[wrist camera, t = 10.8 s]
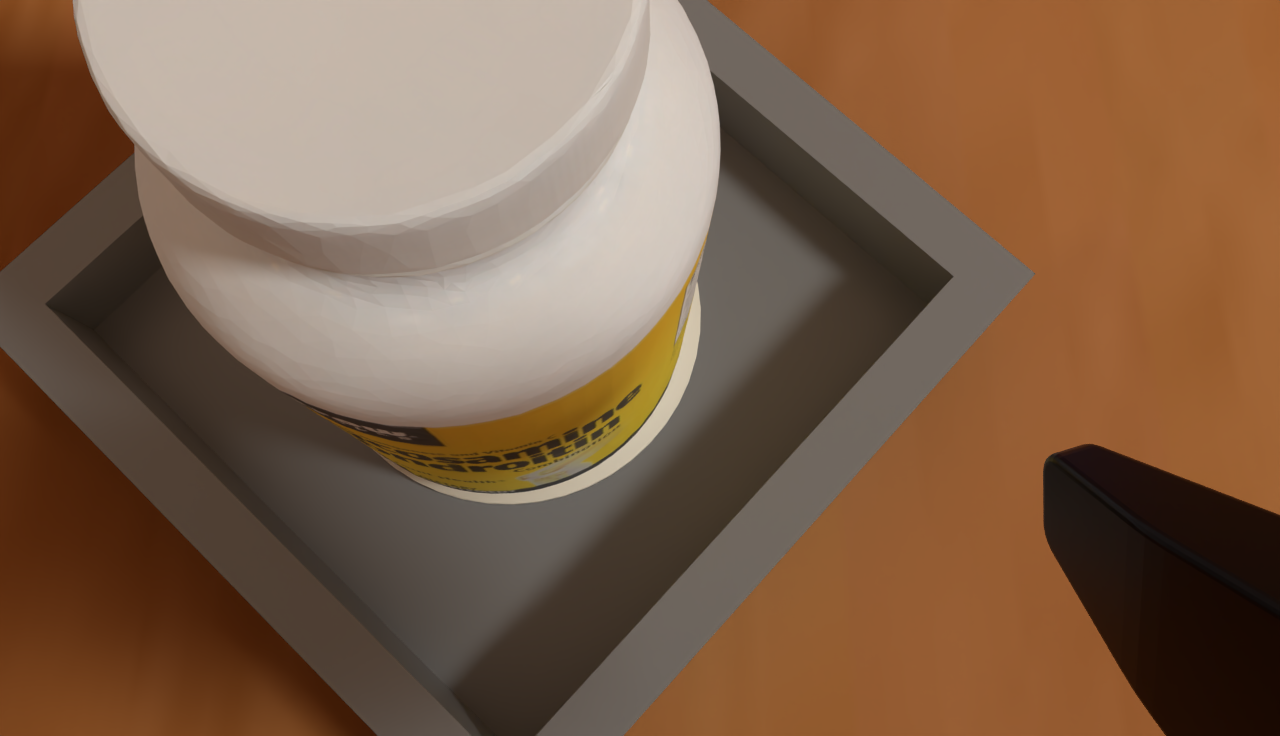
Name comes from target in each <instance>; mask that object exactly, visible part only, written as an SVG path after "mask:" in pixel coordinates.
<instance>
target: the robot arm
mask: <svg viewBox="0 0 1280 736" xmlns="http://www.w3.org/2000/svg"><path fill="white" fill-rule="evenodd" d="M1043 507H1044V530H1045V535H1046V538H1047V541H1048V544H1049V546H1050V549H1051V551H1052V552H1053V554H1054V556H1055V558H1056V559H1057V561H1058V563H1059V565H1060V566H1061V568H1062V570H1063V571H1064V573H1065V575H1066V577H1067V578H1068V580H1069V582H1070V583H1071V585H1072V587H1073V589H1074V590H1075V592H1076V594H1077V595H1078V597H1079V599H1080V601H1081V602H1082V604H1083V606H1084V607H1085V609H1086V611H1087V613H1088V614H1089V616H1090V618H1091V619H1092V621H1093V623H1094V625H1095V626H1096V628H1097V630H1098V631H1099V633H1100V635H1101V637H1102V638H1103V640H1104V642H1105V643H1106V645H1107V647H1108V649H1109V650H1110V652H1111V654H1112V655H1113V657H1114V659H1115V661H1116V662H1117V664H1118V666H1119V667H1120V669H1121V671H1122V672H1123V674H1124V676H1125V677H1126V679H1127V680H1128V682H1129V684H1130V685H1131V687H1132V689H1133V690H1134V692H1135V693H1136V695H1137V696H1138V698H1139V699H1140V700H1141V702H1142V703H1143V705H1144V706H1145V708H1146V709H1147V710H1148V712H1149V713H1150V715H1151V716H1152V717H1153V719H1154V720H1155V722H1156V723H1157V724H1158V726H1159V727H1160V728H1161V730H1162V731H1163V732H1164V734H1165V735H1166V736H1280V515H1278V514H1276V513H1273V512H1271V511H1268V510H1265V509H1263V508H1260V507H1258V506H1255V505H1252V504H1250V503H1247V502H1245V501H1242V500H1239V499H1237V498H1234V497H1231V496H1229V495H1226V494H1224V493H1221V492H1218V491H1216V490H1213V489H1211V488H1208V487H1205V486H1203V485H1200V484H1198V483H1195V482H1192V481H1190V480H1187V479H1185V478H1182V477H1179V476H1177V475H1174V474H1171V473H1169V472H1166V471H1164V470H1161V469H1158V468H1156V467H1153V466H1151V465H1148V464H1145V463H1143V462H1140V461H1138V460H1135V459H1132V458H1130V457H1127V456H1125V455H1122V454H1119V453H1117V452H1114V451H1111V450H1109V449H1106V448H1104V447H1101V446H1098V445H1094V444H1084V445H1080V446H1077V447H1074V448H1070V449H1067V450H1064V451H1060V452H1057V453H1054V454H1052V455H1050V456H1049V457H1048V458H1047V459H1046V461H1045V464H1044V470H1043Z"/></svg>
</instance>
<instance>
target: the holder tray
mask: <svg viewBox="0 0 1280 736" xmlns="http://www.w3.org/2000/svg"><path fill="white" fill-rule="evenodd" d="M678 1H679V3H680V4H681V6H682V7H683V9H684V11H685V13H686V15H687V17H688V19H689V21H690V22H691V24H692V26H693V28H694V30H695V32H696V34H697V36H698V39H699V41H700V44H701V46H702V49H703V51H704V54H705V57H706V59H707V62H708V66H709V69H710V73H711V77H712V81H713V84H714V89H715V94H716V100H717V105H718V114H719V122H720V150H721V151H720V167H719V179H718V187H717V194H716V200H715V204H714V209H713V213H712V218H711V222H710V226H709V231H708V235H707V240H706V244H705V249H704V253H703V257H702V262H701V266H700V271H699V275H698V279H697V284H696V288H695V292H694V297H693V301H692V305H691V309H690V313H689V317H688V321H687V325H686V329H685V333H684V337H683V342H682V346H681V350H680V354H679V357H678V360H677V363H676V366H675V369H674V371H673V374H672V377H671V380H670V382H669V385H668V387H667V389H666V391H665V393H664V395H663V397H662V399H661V400H660V402H659V404H658V405H657V407H656V409H655V410H654V412H653V413H652V415H651V416H650V417H649V419H648V420H647V421H646V423H645V424H644V425H643V426H642V428H641V429H640V430H639V431H638V432H637V434H636V435H635V436H634V437H633V438H632V439H631V440H630V441H629V442H628V443H627V444H626V445H625V446H623V447H622V448H621V449H620V450H619V451H617V452H616V453H615V454H614V455H613V456H611V457H610V458H608V459H607V460H605V461H604V462H603V463H601V464H600V465H598V466H596V467H594V468H593V469H591V470H589V471H587V472H585V473H584V474H582V475H579V476H577V477H575V478H573V479H570V480H568V481H565V482H562V483H560V484H556V485H553V486H550V487H546V488H543V489H539V490H533V491H528V492H520V493H503V494H488V493H475V492H469V491H463V490H458V489H453V488H450V487H446V486H443V485H440V484H437V483H434V482H431V481H428V480H426V479H423V478H421V477H418V476H416V475H414V474H412V473H410V472H409V471H407V470H405V469H403V468H402V467H400V466H398V465H396V464H395V463H393V462H392V461H390V460H389V459H387V458H385V457H384V456H382V455H381V454H379V453H378V452H376V451H375V450H373V449H372V448H370V447H369V446H367V445H365V444H364V443H362V442H361V441H359V440H358V439H356V438H355V437H353V436H352V435H350V434H349V433H347V432H345V431H344V430H342V429H341V428H339V427H337V426H336V425H334V424H333V423H331V422H330V421H328V420H327V419H325V418H323V417H321V416H320V415H318V414H316V413H314V412H313V411H311V410H310V409H309V408H307V407H306V406H305V405H303V404H301V403H300V402H298V401H296V400H295V399H293V398H291V397H290V396H288V395H286V394H285V393H283V392H281V391H280V390H278V389H277V388H275V387H274V386H273V385H271V384H270V383H268V382H267V381H266V380H264V379H263V378H261V377H260V376H259V375H257V374H256V373H255V372H253V371H252V370H250V369H249V368H248V367H246V366H245V365H243V364H242V363H241V362H239V361H238V360H237V359H236V358H235V357H233V356H232V355H231V354H230V353H229V352H228V351H227V350H226V349H225V348H224V347H223V346H222V345H221V344H220V343H218V342H217V341H216V340H215V339H214V338H213V337H212V336H211V335H210V334H209V333H208V332H207V331H206V330H205V329H204V328H203V327H202V325H201V324H200V323H199V322H198V320H197V319H196V318H195V317H194V315H193V314H192V313H191V312H190V311H189V309H188V308H187V307H186V305H185V304H184V302H183V301H182V299H181V298H180V296H179V294H178V293H177V291H176V290H175V288H174V287H173V285H172V284H171V282H170V281H169V279H168V277H167V275H166V273H165V271H164V268H163V266H162V264H161V262H160V260H159V258H158V255H157V253H156V251H155V248H154V246H153V243H152V241H151V238H150V236H149V233H148V230H147V227H146V223H145V220H144V217H143V212H142V208H141V204H140V200H139V195H138V187H137V180H136V172H135V152H134V153H133V154H132V155H131V156H130V157H129V158H128V159H127V160H125V161H124V162H123V163H122V164H121V165H120V166H119V167H118V168H116V169H115V170H114V171H113V172H112V173H111V174H110V175H109V176H107V177H106V178H105V179H104V180H103V181H102V182H101V183H100V184H98V185H97V186H96V187H95V188H94V189H93V190H92V191H91V192H89V193H88V194H87V195H86V196H85V197H84V198H83V199H82V200H80V201H79V202H78V203H77V204H76V205H75V206H74V207H73V208H71V209H70V210H69V211H68V212H67V213H66V214H65V215H64V216H62V217H61V218H60V219H59V220H58V221H57V222H56V223H55V224H53V225H52V226H51V227H50V228H49V229H48V230H47V231H46V232H44V233H43V234H42V235H41V236H40V237H39V238H38V239H37V240H35V241H34V242H33V243H32V244H31V245H30V246H29V247H28V248H26V249H25V250H24V251H23V252H22V253H21V254H20V255H19V256H17V257H16V258H15V259H14V260H13V261H12V262H11V263H10V264H8V265H7V266H6V267H5V268H4V269H3V270H2V271H1V272H0V347H1V348H2V349H3V350H4V351H5V352H6V353H7V354H8V355H9V356H10V357H11V358H12V359H13V360H14V361H15V362H16V363H17V364H18V365H19V367H20V368H21V369H22V370H23V371H24V372H25V373H26V374H27V375H28V376H29V377H30V378H31V379H32V380H33V381H34V382H35V383H36V384H37V385H38V386H39V387H40V388H41V389H42V390H43V391H44V392H45V393H46V394H47V395H48V396H49V397H50V398H51V400H52V401H53V402H54V403H55V404H56V405H57V406H58V407H59V408H60V409H61V410H62V411H63V412H64V413H65V414H66V415H67V416H68V417H69V418H70V419H71V420H72V421H73V422H74V423H75V424H76V425H77V426H78V427H79V428H80V429H81V430H82V431H83V432H84V434H85V435H86V436H87V437H88V438H89V439H90V440H91V441H92V442H93V443H94V444H95V445H96V446H97V447H98V448H99V449H100V450H101V451H102V452H103V453H104V454H105V455H106V456H107V457H108V458H109V459H110V460H111V461H112V462H113V463H114V464H115V465H116V467H117V468H118V469H119V470H120V471H121V472H122V473H123V474H124V475H125V476H126V477H127V478H128V479H129V480H130V481H131V482H132V483H133V484H134V485H135V486H136V487H137V488H138V489H139V490H140V491H141V492H142V493H143V494H144V495H145V496H146V497H147V498H148V500H149V501H150V502H151V503H152V504H153V505H154V506H155V507H156V508H157V509H158V510H159V511H160V512H161V513H162V514H163V515H164V516H165V517H166V518H167V519H168V520H169V521H170V522H171V523H172V524H173V525H174V526H175V527H176V528H177V529H178V530H179V531H180V532H181V534H182V535H183V536H184V537H185V538H186V539H187V540H188V541H189V542H190V543H191V544H192V545H193V546H194V547H195V548H196V549H197V550H198V551H199V552H200V553H201V554H202V555H203V556H204V557H205V558H206V559H207V560H208V561H209V562H210V563H211V564H212V565H213V567H214V568H215V569H216V570H217V571H218V572H219V573H220V574H221V575H222V576H223V577H224V578H225V579H226V580H227V581H228V582H229V583H230V584H231V585H232V586H233V587H234V588H235V589H236V590H237V591H238V592H239V593H240V594H241V595H242V596H243V597H244V598H245V600H246V601H247V602H248V603H249V604H250V605H251V606H252V607H253V608H254V609H255V610H256V611H257V612H258V613H259V614H260V615H261V616H262V617H263V618H264V619H265V620H266V621H267V622H268V623H269V624H270V625H271V626H272V627H273V628H274V629H275V630H276V631H277V632H278V634H279V635H280V636H281V637H282V638H283V639H284V640H285V641H286V642H287V643H288V644H289V645H290V646H291V647H292V648H293V649H294V650H295V651H296V652H297V653H298V654H299V655H300V656H301V657H302V658H303V659H304V660H305V661H306V662H307V663H308V664H309V665H310V667H311V668H312V669H313V670H314V671H315V672H316V673H317V674H318V675H319V676H320V677H321V678H322V679H323V680H324V681H325V682H326V683H327V684H328V685H329V686H330V687H331V688H332V689H333V690H334V691H335V692H336V693H337V694H338V695H339V696H340V697H341V698H342V700H343V701H344V702H345V703H346V704H347V705H348V706H349V707H350V708H351V709H352V710H353V711H354V712H355V713H356V714H357V715H358V716H359V717H360V718H361V719H362V720H363V721H364V722H365V723H366V724H367V725H368V726H369V727H370V728H371V729H372V730H373V731H374V732H375V734H376V735H377V736H623V735H624V734H625V733H626V732H627V731H628V730H629V729H630V728H631V726H632V725H633V724H634V723H635V722H636V721H637V720H638V719H639V717H640V716H641V715H642V714H643V713H644V712H645V711H646V710H647V709H648V707H649V706H650V705H651V704H652V703H653V702H654V701H655V700H656V698H657V697H658V696H659V695H660V694H661V693H662V692H663V691H664V689H665V688H666V687H667V686H668V685H669V684H670V683H671V682H672V680H673V679H674V678H675V677H676V676H677V675H678V674H679V673H680V672H681V670H682V669H683V668H684V667H685V666H686V665H687V664H688V663H689V661H690V660H691V659H692V658H693V657H694V656H695V655H696V654H697V652H698V651H699V650H700V649H701V648H702V647H703V646H704V645H705V643H706V642H707V641H708V640H709V639H710V638H711V637H712V636H713V635H714V633H715V632H716V631H717V630H718V629H719V628H720V627H721V626H722V624H723V623H724V622H725V621H726V620H727V619H728V618H729V617H730V615H731V614H732V613H733V612H734V611H735V610H736V609H737V608H738V607H739V605H740V604H741V603H742V602H743V601H744V600H745V599H746V598H747V596H748V595H749V594H750V593H751V592H752V591H753V590H754V589H755V587H756V586H757V585H758V584H759V583H760V582H761V581H762V580H763V578H764V577H765V576H766V575H767V574H768V573H769V572H770V571H771V570H772V568H773V567H774V566H775V565H776V564H777V563H778V562H779V561H780V559H781V558H782V557H783V556H784V555H785V554H786V553H787V552H788V550H789V549H790V548H791V547H792V546H793V545H794V544H795V543H796V541H797V540H798V539H799V538H800V537H801V536H802V535H803V534H804V533H805V531H806V530H807V529H808V528H809V527H810V526H811V525H812V524H813V522H814V521H815V520H816V519H817V518H818V517H819V516H820V515H821V513H822V512H823V511H824V510H825V509H826V508H827V507H828V506H829V504H830V503H831V502H832V501H833V500H834V499H835V498H836V497H837V496H838V494H839V493H840V492H841V491H842V490H843V489H844V488H845V487H846V485H847V484H848V483H849V482H850V481H851V480H852V479H853V478H854V476H855V475H856V474H857V473H858V472H859V471H860V470H861V469H862V467H863V466H864V465H865V464H866V463H867V462H868V461H869V460H870V459H871V457H872V456H873V455H874V454H875V453H876V452H877V451H878V450H879V448H880V447H881V446H882V445H883V444H884V443H885V442H886V441H887V439H888V438H889V437H890V436H891V435H892V434H893V433H894V432H895V431H896V429H897V428H898V427H899V426H900V425H901V424H902V423H903V422H904V420H905V419H906V418H907V417H908V416H909V415H910V414H911V413H912V411H913V410H914V409H915V408H916V407H917V406H918V405H919V404H920V402H921V401H922V400H923V399H924V398H925V397H926V396H927V395H928V394H929V392H930V391H931V390H932V389H933V388H934V387H935V386H936V385H937V383H938V382H939V381H940V380H941V379H942V378H943V377H944V376H945V374H946V373H947V372H948V371H949V370H950V369H951V368H952V367H953V365H954V364H955V363H956V362H957V361H958V360H959V359H960V358H961V357H962V355H963V354H964V353H965V352H966V351H967V350H968V349H969V348H970V346H971V345H972V344H973V343H974V342H975V341H976V340H977V339H978V337H979V336H980V335H981V334H982V333H983V332H984V331H985V330H986V328H987V327H988V326H989V325H990V324H991V323H992V322H993V321H994V320H995V318H996V317H997V316H998V315H999V314H1000V313H1001V312H1002V311H1003V309H1004V308H1005V307H1006V306H1007V305H1008V304H1009V303H1010V302H1011V300H1012V299H1013V298H1014V297H1015V296H1016V295H1017V294H1018V293H1019V291H1020V290H1021V289H1022V288H1023V287H1024V286H1025V285H1026V284H1027V283H1028V281H1029V280H1030V279H1031V278H1032V277H1033V276H1034V275H1035V273H1034V272H1033V271H1031V270H1030V269H1029V268H1028V267H1027V266H1025V265H1024V264H1023V263H1022V262H1021V261H1019V260H1018V259H1017V258H1016V257H1014V256H1013V255H1012V254H1011V253H1010V252H1008V251H1007V250H1006V249H1005V248H1004V247H1002V246H1001V245H1000V244H999V243H998V242H996V241H995V240H994V239H993V238H992V237H990V236H989V235H988V234H987V233H986V232H984V231H983V230H982V229H981V228H980V227H978V226H977V225H976V224H975V223H974V222H972V221H971V220H970V219H969V218H968V217H966V216H965V215H964V214H963V213H962V212H960V211H959V210H958V209H957V208H956V207H954V206H953V205H952V204H951V203H950V202H948V201H947V200H946V199H945V198H944V197H942V196H941V195H940V194H939V193H938V192H936V191H935V190H934V189H933V188H932V187H930V186H929V185H928V184H927V183H926V182H924V181H923V180H922V179H921V178H920V177H918V176H917V175H916V174H915V173H914V172H912V171H911V170H910V169H909V168H908V167H906V166H905V165H904V164H903V163H902V162H900V161H899V160H898V159H897V158H896V157H894V156H893V155H892V154H891V153H890V152H888V151H887V150H886V149H885V148H884V147H882V146H881V145H880V144H879V143H878V142H876V141H875V140H874V139H873V138H872V137H870V136H869V135H868V134H867V133H866V132H864V131H863V130H862V129H861V128H860V127H858V126H857V125H856V124H855V123H854V122H852V121H851V120H850V119H849V118H848V117H846V116H845V115H844V114H843V113H842V112H840V111H839V110H838V109H837V108H836V107H834V106H833V105H832V104H831V103H829V102H828V101H827V100H826V99H825V98H823V97H822V96H821V95H820V94H819V93H817V92H816V91H815V90H814V89H813V88H811V87H810V86H809V85H808V84H807V83H805V82H804V81H803V80H802V79H801V78H799V77H798V76H797V75H796V74H795V73H793V72H792V71H791V70H790V69H789V68H787V67H786V66H785V65H784V64H783V63H781V62H780V61H779V60H778V59H777V58H775V57H774V56H773V55H772V54H771V53H769V52H768V51H767V50H766V49H765V48H763V47H762V46H761V45H760V44H759V43H757V42H756V41H755V40H754V39H753V38H751V37H750V36H749V35H748V34H747V33H745V32H744V31H743V30H742V29H741V28H739V27H738V26H737V25H736V24H735V23H733V22H732V21H731V20H730V19H729V18H727V17H726V16H725V15H724V14H723V13H721V12H720V11H719V10H718V9H717V8H715V7H714V6H713V5H712V4H711V3H709V2H708V1H707V0H678Z"/></svg>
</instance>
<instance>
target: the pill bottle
mask: <svg viewBox="0 0 1280 736" xmlns="http://www.w3.org/2000/svg"><path fill="white" fill-rule="evenodd" d="M73 9H74V20H75V24H76V29H77V35H78V38H79V41H80V44H81V47H82V51H83V54H84V57H85V60H86V63H87V66H88V69H89V72H90V75H91V77H92V79H93V81H94V83H95V85H96V87H97V89H98V91H99V93H100V95H101V97H102V99H103V101H104V103H105V105H106V107H107V109H108V111H109V112H110V114H111V115H112V117H113V118H114V119H115V121H116V122H117V124H118V125H119V127H120V128H121V129H122V130H123V131H124V133H125V134H126V135H127V136H128V137H129V138H130V140H131V141H132V142H133V143H134V148H135V172H136V180H137V187H138V195H139V200H140V204H141V208H142V212H143V217H144V220H145V223H146V227H147V230H148V233H149V236H150V238H151V241H152V243H153V246H154V248H155V251H156V253H157V255H158V258H159V260H160V262H161V264H162V266H163V268H164V271H165V273H166V275H167V277H168V279H169V281H170V282H171V284H172V285H173V287H174V288H175V290H176V291H177V293H178V294H179V296H180V298H181V299H182V301H183V302H184V304H185V305H186V307H187V308H188V309H189V311H190V312H191V313H192V314H193V315H194V317H195V318H196V319H197V320H198V322H199V323H200V324H201V325H202V327H203V328H204V329H205V330H206V331H207V332H208V333H209V334H210V335H211V336H212V337H213V338H214V339H215V340H216V341H217V342H218V343H220V344H221V345H222V346H223V347H224V348H225V349H226V350H227V351H228V352H229V353H230V354H231V355H232V356H233V357H235V358H236V359H237V360H238V361H239V362H241V363H242V364H243V365H245V366H246V367H248V368H249V369H250V370H252V371H253V372H255V373H256V374H257V375H259V376H260V377H261V378H263V379H264V380H266V381H267V382H268V383H270V384H271V385H273V386H274V387H275V388H277V389H278V390H280V391H281V392H283V393H285V394H286V395H288V396H290V397H291V398H293V399H295V400H296V401H298V402H300V403H301V404H303V405H305V406H306V407H307V408H309V409H310V410H311V411H313V412H314V413H316V414H318V415H320V416H321V417H323V418H325V419H327V420H328V421H330V422H331V423H333V424H334V425H336V426H337V427H339V428H341V429H342V430H344V431H345V432H347V433H349V434H350V435H352V436H353V437H355V438H356V439H358V440H359V441H361V442H362V443H364V444H365V445H367V446H369V447H370V448H372V449H373V450H375V451H376V452H378V453H379V454H381V455H382V456H384V457H385V458H387V459H389V460H390V461H392V462H393V463H395V464H396V465H398V466H400V467H402V468H403V469H405V470H407V471H409V472H410V473H412V474H414V475H416V476H418V477H421V478H423V479H426V480H428V481H431V482H434V483H437V484H440V485H443V486H446V487H450V488H453V489H458V490H463V491H469V492H475V493H488V494H503V493H520V492H528V491H533V490H539V489H543V488H546V487H550V486H553V485H556V484H560V483H562V482H565V481H568V480H570V479H573V478H575V477H577V476H579V475H582V474H584V473H585V472H587V471H589V470H591V469H593V468H594V467H596V466H598V465H600V464H601V463H603V462H604V461H605V460H607V459H608V458H610V457H611V456H613V455H614V454H615V453H616V452H617V451H619V450H620V449H621V448H622V447H623V446H625V445H626V444H627V443H628V442H629V441H630V440H631V439H632V438H633V437H634V436H635V435H636V434H637V432H638V431H639V430H640V429H641V428H642V426H643V425H644V424H645V423H646V421H647V420H648V419H649V417H650V416H651V415H652V413H653V412H654V410H655V409H656V407H657V405H658V404H659V402H660V400H661V399H662V397H663V395H664V393H665V391H666V389H667V387H668V385H669V382H670V380H671V377H672V374H673V371H674V369H675V366H676V363H677V360H678V357H679V354H680V350H681V346H682V342H683V337H684V333H685V329H686V325H687V321H688V317H689V313H690V309H691V305H692V301H693V297H694V292H695V288H696V284H697V279H698V275H699V271H700V266H701V262H702V257H703V253H704V249H705V244H706V240H707V235H708V231H709V226H710V222H711V218H712V213H713V209H714V204H715V200H716V194H717V187H718V179H719V167H720V151H721V150H720V122H719V114H718V105H717V100H716V94H715V89H714V84H713V81H712V77H711V73H710V69H709V66H708V62H707V59H706V57H705V54H704V51H703V49H702V46H701V44H700V41H699V39H698V36H697V34H696V32H695V30H694V28H693V26H692V24H691V22H690V21H689V19H688V17H687V15H686V13H685V11H684V9H683V7H682V6H681V4H680V3H679V1H678V0H73Z"/></svg>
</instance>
